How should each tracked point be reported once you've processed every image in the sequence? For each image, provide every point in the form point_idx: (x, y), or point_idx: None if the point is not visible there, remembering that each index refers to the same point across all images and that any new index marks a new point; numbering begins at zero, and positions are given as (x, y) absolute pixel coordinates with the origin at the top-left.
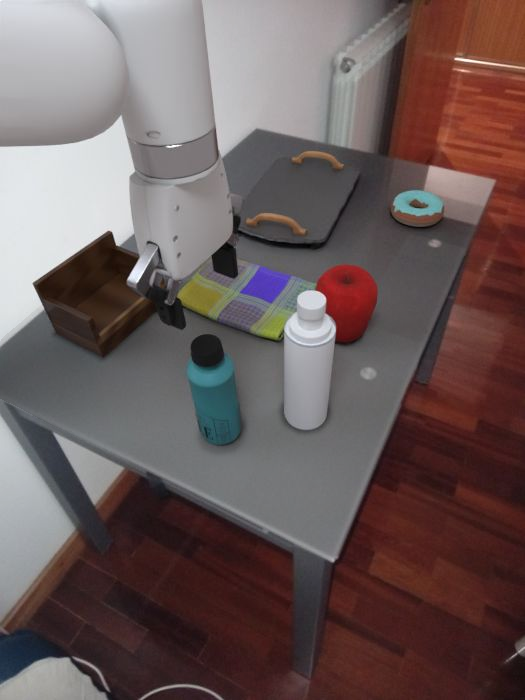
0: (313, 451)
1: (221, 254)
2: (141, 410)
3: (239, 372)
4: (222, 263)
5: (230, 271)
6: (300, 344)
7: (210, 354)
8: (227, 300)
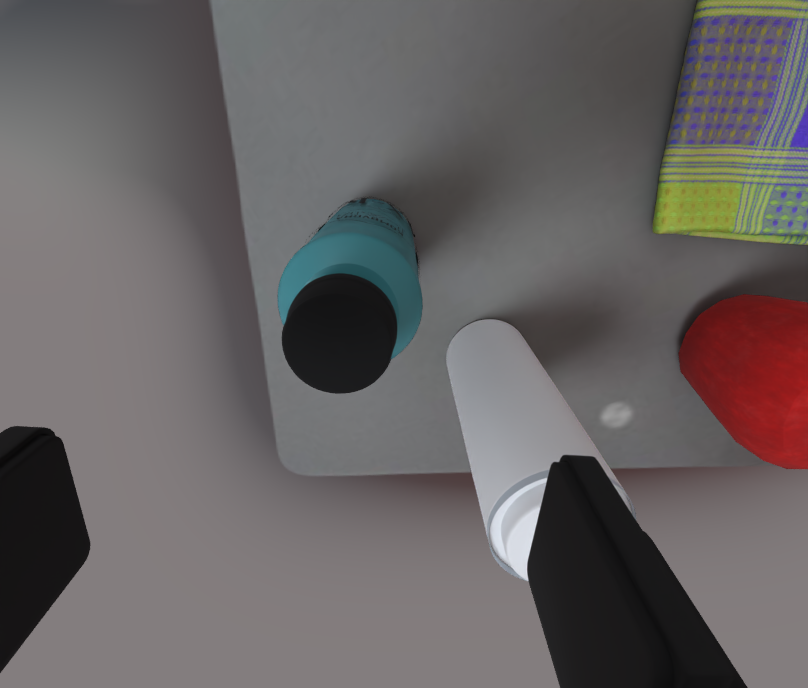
0: (416, 397)
1: (597, 679)
2: (330, 15)
3: (535, 185)
4: (566, 597)
5: (542, 597)
6: (488, 534)
7: (307, 381)
8: (786, 5)
